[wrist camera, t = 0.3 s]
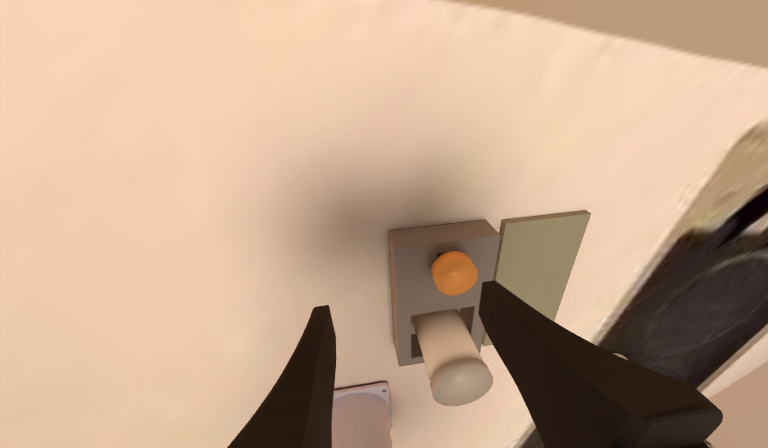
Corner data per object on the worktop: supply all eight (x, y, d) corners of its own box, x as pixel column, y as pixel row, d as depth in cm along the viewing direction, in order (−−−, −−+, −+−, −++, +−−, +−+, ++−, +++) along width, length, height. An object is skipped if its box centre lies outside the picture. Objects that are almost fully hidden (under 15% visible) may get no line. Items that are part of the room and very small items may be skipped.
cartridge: (454, 325, 29) (488, 400, 22) (410, 331, 28) (431, 410, 22) (458, 291, 26) (497, 363, 20) (410, 297, 26) (434, 374, 19)
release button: (457, 262, 23) (475, 292, 20) (422, 267, 23) (435, 298, 20) (460, 231, 22) (480, 258, 19) (422, 236, 22) (436, 264, 18)
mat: (545, 331, 31) (549, 335, 31) (481, 341, 30) (483, 346, 30) (585, 210, 24) (591, 213, 23) (502, 220, 23) (505, 223, 23)
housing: (469, 332, 29) (479, 353, 27) (394, 344, 29) (398, 366, 26) (485, 219, 23) (500, 235, 21) (388, 230, 22) (393, 248, 20)
